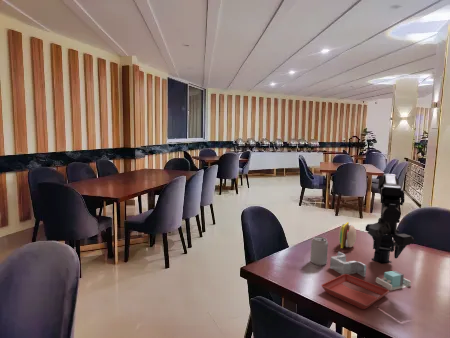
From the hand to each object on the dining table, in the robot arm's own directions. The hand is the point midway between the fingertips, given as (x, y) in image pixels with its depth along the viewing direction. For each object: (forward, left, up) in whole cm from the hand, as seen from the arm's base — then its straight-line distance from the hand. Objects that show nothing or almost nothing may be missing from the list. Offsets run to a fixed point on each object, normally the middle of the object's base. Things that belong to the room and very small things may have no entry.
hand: (386, 253), depth 125 cm
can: (+13, -25, -13) cm, 31 cm away
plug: (-2, +3, -12) cm, 12 cm away
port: (+8, -14, -12) cm, 20 cm away
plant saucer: (+19, +4, -13) cm, 23 cm away
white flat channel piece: (-2, +3, -12) cm, 13 cm away
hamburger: (-17, -39, -13) cm, 45 cm away
